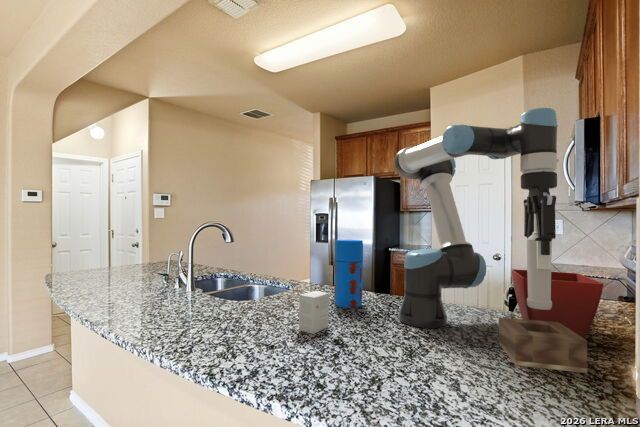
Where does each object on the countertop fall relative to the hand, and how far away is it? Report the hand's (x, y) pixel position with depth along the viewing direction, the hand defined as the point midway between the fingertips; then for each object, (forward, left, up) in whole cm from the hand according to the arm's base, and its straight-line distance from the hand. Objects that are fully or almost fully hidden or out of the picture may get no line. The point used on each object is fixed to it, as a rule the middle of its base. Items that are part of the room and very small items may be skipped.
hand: (538, 267), depth 81 cm
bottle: (0, 0, -10) cm, 10 cm away
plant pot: (+12, +24, -22) cm, 35 cm away
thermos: (-53, +36, -22) cm, 68 cm away
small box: (-58, +4, -22) cm, 62 cm away
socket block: (0, 0, -22) cm, 22 cm away
